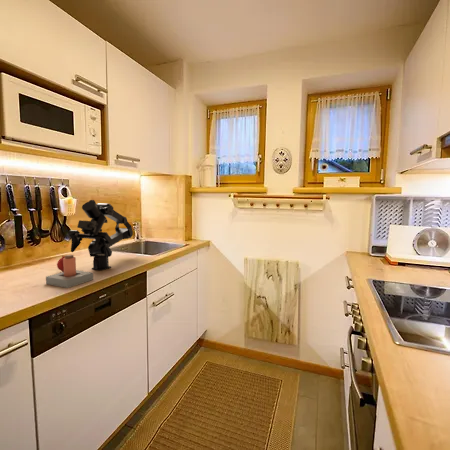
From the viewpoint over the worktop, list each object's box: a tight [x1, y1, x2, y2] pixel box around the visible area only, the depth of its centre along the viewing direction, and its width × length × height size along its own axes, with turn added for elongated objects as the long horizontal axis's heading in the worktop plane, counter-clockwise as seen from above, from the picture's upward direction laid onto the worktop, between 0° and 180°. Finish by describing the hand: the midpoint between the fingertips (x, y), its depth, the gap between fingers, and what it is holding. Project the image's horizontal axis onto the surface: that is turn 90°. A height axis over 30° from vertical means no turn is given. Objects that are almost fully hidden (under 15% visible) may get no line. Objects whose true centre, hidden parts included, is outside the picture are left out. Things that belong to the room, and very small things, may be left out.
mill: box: [63, 254, 77, 277], centre depth 111 cm, size 4×4×11 cm
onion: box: [56, 254, 66, 272], centre depth 125 cm, size 6×6×8 cm
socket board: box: [45, 269, 94, 289], centre depth 112 cm, size 12×12×3 cm
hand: (81, 252), depth 118 cm, fingers open, 9 cm apart
